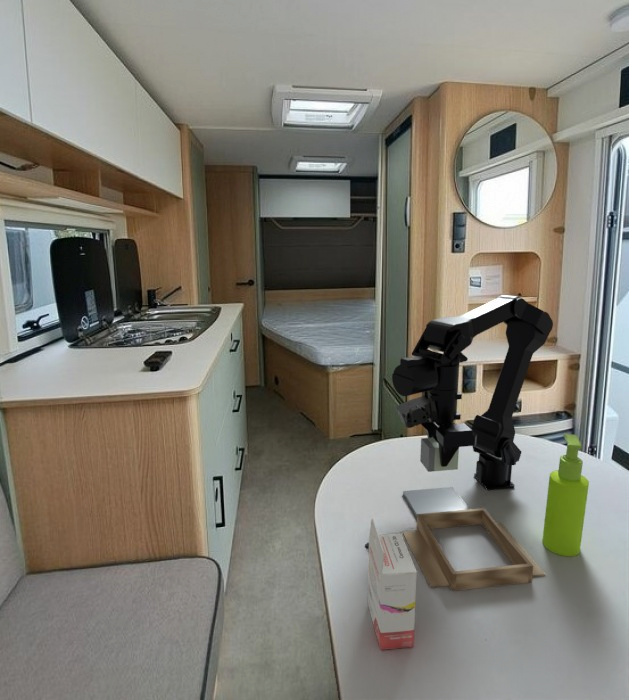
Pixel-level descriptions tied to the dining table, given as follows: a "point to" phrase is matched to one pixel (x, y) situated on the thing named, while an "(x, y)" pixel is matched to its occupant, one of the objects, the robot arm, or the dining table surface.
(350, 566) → the dining table surface
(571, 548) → the soap dispenser
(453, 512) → the wooden frame
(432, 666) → the dining table surface
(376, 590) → the ink cartridge box
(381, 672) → the dining table surface
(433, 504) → the coaster
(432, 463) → the box
